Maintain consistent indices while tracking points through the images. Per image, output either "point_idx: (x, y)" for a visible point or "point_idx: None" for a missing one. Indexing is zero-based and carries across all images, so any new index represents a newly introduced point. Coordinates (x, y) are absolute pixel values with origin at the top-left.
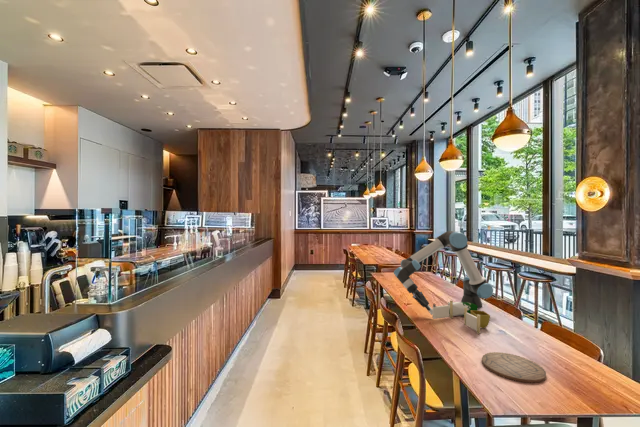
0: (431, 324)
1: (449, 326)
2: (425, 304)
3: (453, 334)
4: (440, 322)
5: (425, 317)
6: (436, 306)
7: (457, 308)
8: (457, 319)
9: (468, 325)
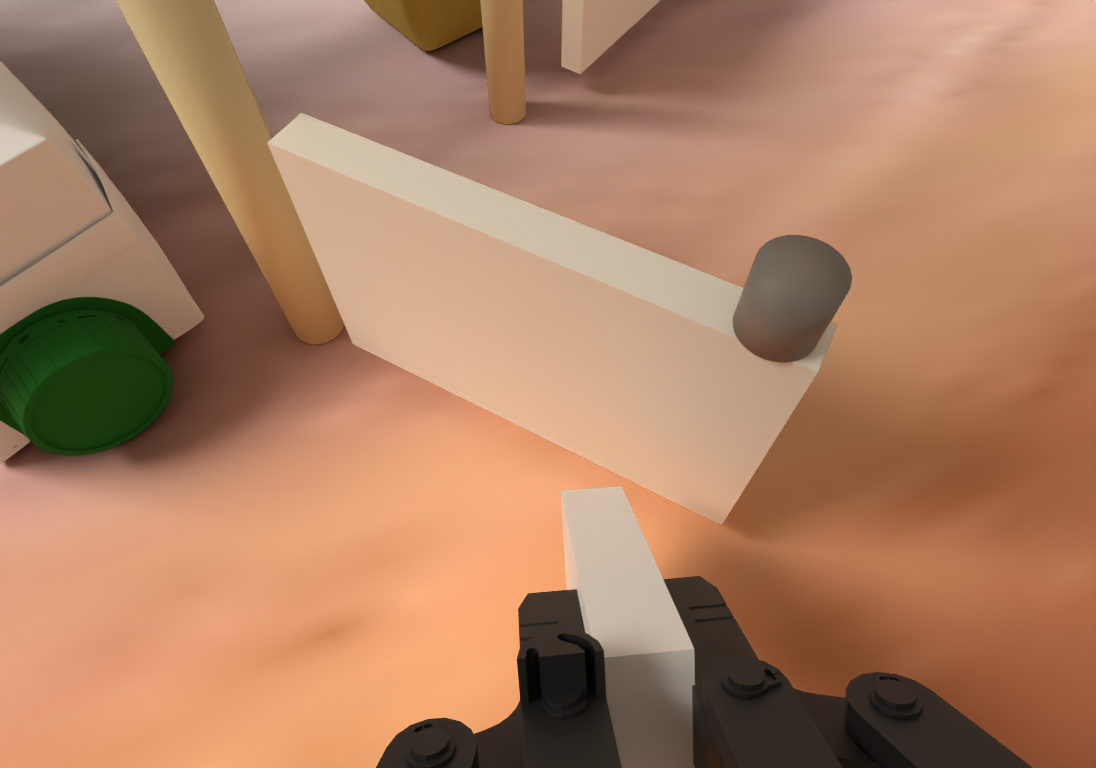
0: (982, 437)
1: (771, 217)
2: (860, 691)
3: (1002, 108)
4: None
5: None
6: (676, 297)
7: (73, 146)
8: None
9: (610, 32)
